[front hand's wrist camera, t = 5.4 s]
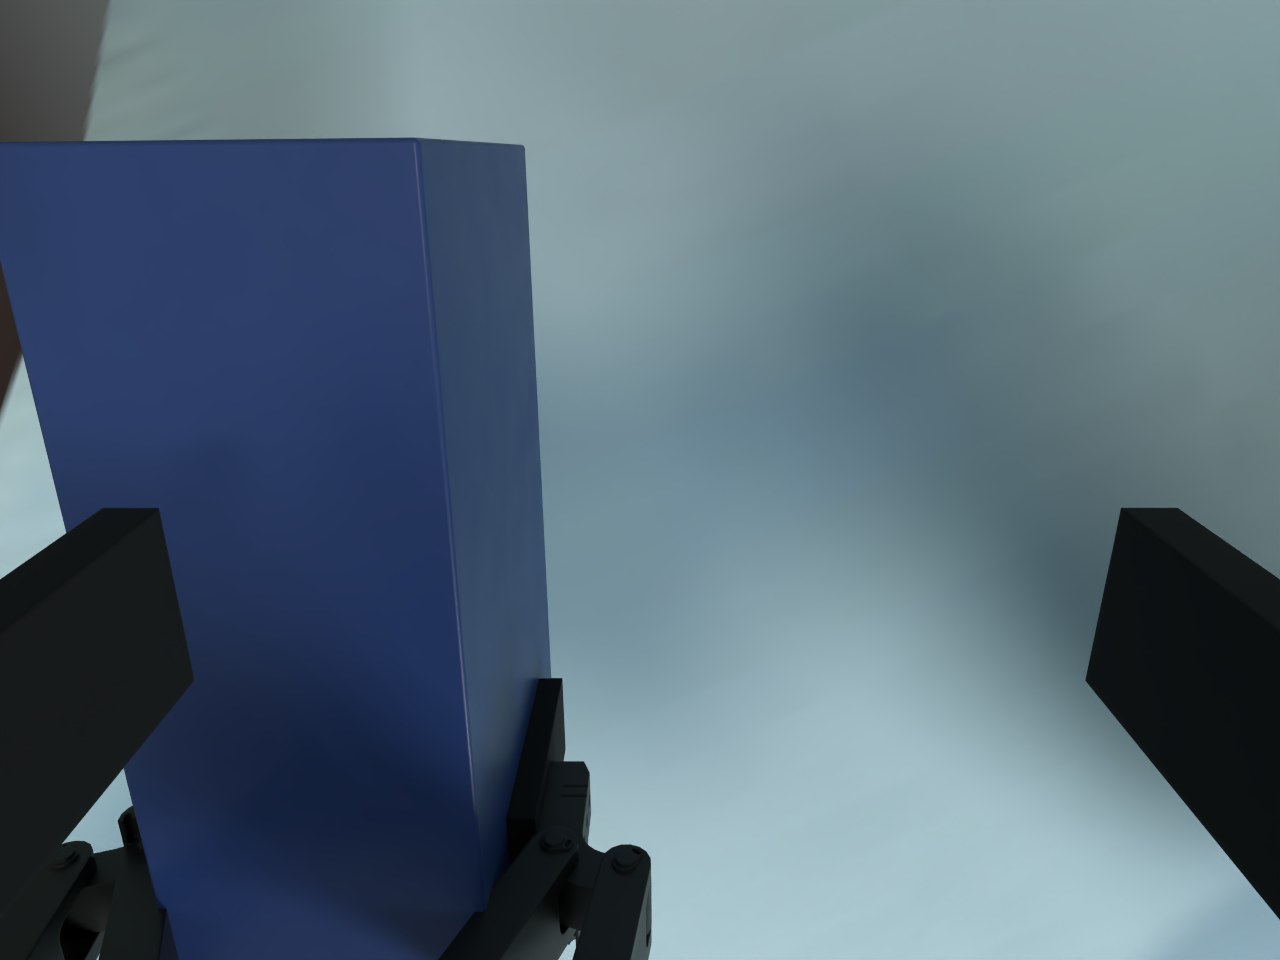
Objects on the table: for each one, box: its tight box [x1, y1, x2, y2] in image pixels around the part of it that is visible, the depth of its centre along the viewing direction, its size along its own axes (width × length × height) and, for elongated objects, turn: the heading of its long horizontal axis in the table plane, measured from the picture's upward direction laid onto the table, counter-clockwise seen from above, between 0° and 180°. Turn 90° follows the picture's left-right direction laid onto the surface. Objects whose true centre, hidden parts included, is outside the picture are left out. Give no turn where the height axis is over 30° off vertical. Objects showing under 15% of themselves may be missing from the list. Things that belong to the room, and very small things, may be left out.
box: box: [0, 138, 551, 960], centre depth 24 cm, size 21×8×12 cm, turn 1°
